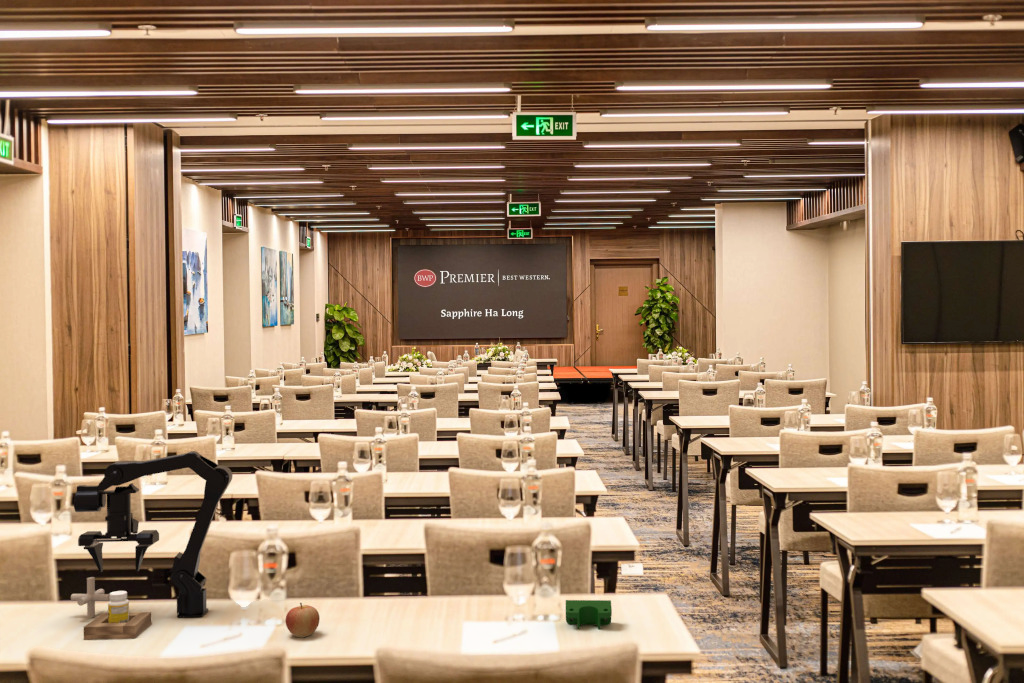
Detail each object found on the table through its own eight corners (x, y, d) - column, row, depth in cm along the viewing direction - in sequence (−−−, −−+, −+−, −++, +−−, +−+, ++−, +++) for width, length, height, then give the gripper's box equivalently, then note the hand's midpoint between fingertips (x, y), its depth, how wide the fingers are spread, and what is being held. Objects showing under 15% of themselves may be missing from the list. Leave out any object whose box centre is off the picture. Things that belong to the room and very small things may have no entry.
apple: (289, 642, 225) (288, 608, 225) (282, 633, 232) (282, 600, 232) (323, 638, 228) (322, 604, 228) (316, 629, 235) (315, 596, 235)
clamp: (574, 646, 234) (558, 615, 232) (574, 633, 239) (559, 602, 238) (619, 629, 232) (604, 597, 230) (618, 616, 237) (603, 585, 236)
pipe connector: (119, 611, 253) (119, 573, 253) (99, 622, 243) (99, 583, 243) (83, 611, 254) (82, 573, 254) (61, 621, 244) (61, 582, 244)
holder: (151, 623, 241) (151, 611, 241) (134, 638, 229) (134, 625, 229) (102, 625, 241) (102, 613, 241) (83, 639, 229) (83, 626, 229)
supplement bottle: (112, 624, 237) (111, 590, 237) (131, 623, 237) (131, 589, 237) (105, 630, 232) (105, 595, 232) (125, 629, 233) (125, 594, 233)
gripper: (165, 504, 255) (166, 563, 255) (94, 506, 254) (94, 565, 254) (151, 512, 244) (152, 573, 244) (77, 513, 243) (77, 575, 243)
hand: (119, 571), depth 247 cm, fingers open, 9 cm apart
